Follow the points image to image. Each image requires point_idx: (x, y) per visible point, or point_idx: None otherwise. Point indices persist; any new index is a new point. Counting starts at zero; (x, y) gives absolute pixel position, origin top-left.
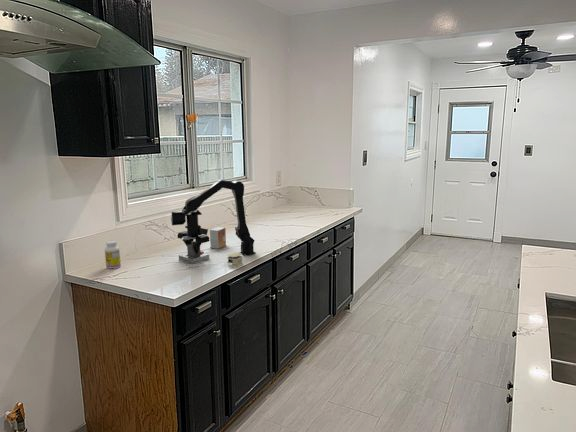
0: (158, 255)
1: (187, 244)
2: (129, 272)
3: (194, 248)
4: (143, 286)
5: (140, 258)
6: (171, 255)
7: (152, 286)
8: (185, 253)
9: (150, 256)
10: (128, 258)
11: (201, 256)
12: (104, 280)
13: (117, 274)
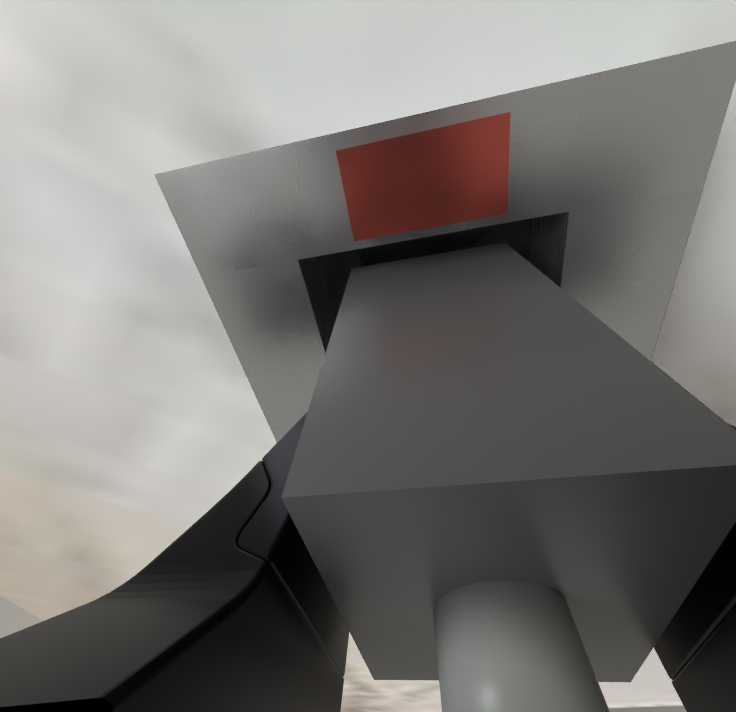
0: (45, 493)
1: (390, 675)
2: (365, 664)
3: None
4: (618, 692)
5: (99, 578)
6: (85, 424)
7: (665, 683)
8: (264, 412)
9: (62, 534)
10: (72, 606)
11: (657, 317)
12: (397, 709)
13: (355, 683)
